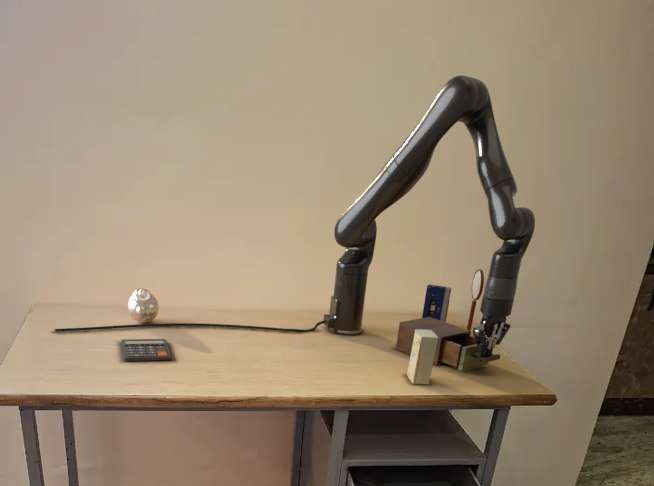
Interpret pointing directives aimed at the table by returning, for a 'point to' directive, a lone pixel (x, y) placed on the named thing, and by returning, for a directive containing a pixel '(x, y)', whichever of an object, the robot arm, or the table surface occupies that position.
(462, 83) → the robot arm
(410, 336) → the cabinet
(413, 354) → the cosmetic box
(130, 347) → the calculator
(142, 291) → the silver rounded lump
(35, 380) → the table surface
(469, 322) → the magnifying glass
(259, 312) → the table surface
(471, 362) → the drawer
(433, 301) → the cassette player
